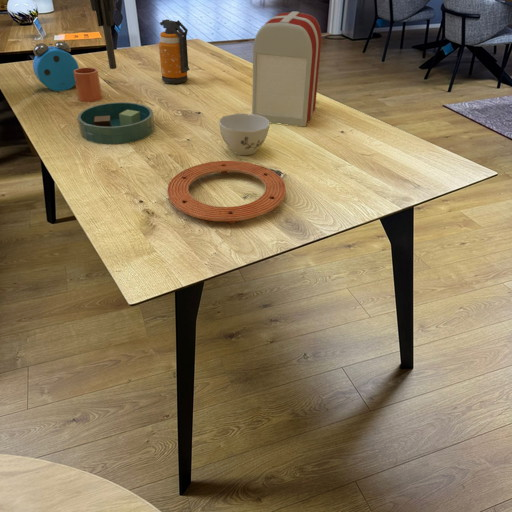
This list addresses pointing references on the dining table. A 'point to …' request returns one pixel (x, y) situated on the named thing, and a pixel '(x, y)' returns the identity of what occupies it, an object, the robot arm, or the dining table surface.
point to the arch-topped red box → (286, 68)
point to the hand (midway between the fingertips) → (106, 25)
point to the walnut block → (102, 121)
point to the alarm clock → (55, 66)
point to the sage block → (129, 117)
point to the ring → (192, 207)
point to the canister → (173, 52)
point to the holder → (88, 84)
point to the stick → (107, 36)
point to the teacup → (244, 132)
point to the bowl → (115, 123)
